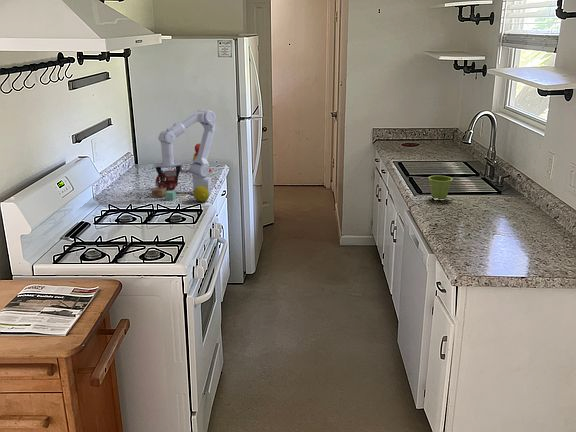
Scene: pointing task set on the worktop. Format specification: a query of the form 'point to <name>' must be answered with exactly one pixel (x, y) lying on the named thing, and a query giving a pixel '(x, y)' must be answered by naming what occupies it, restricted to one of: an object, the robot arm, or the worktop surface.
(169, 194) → the teal block
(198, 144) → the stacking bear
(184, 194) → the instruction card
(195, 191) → the lemon
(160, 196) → the walnut block
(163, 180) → the toy fire truck
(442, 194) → the plant pot
